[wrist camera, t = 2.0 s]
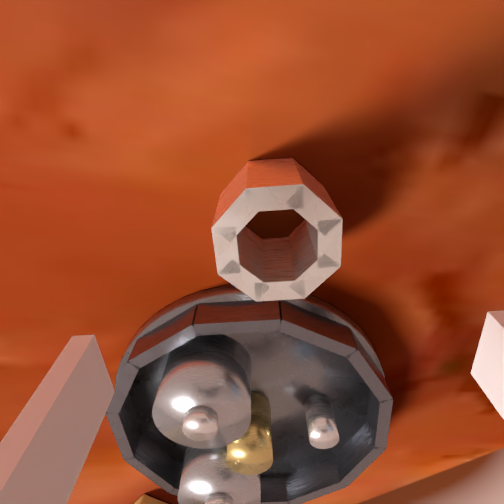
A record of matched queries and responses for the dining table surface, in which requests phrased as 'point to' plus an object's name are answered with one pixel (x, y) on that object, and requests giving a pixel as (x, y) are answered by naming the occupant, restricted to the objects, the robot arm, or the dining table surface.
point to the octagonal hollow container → (276, 249)
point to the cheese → (148, 500)
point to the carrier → (250, 399)
